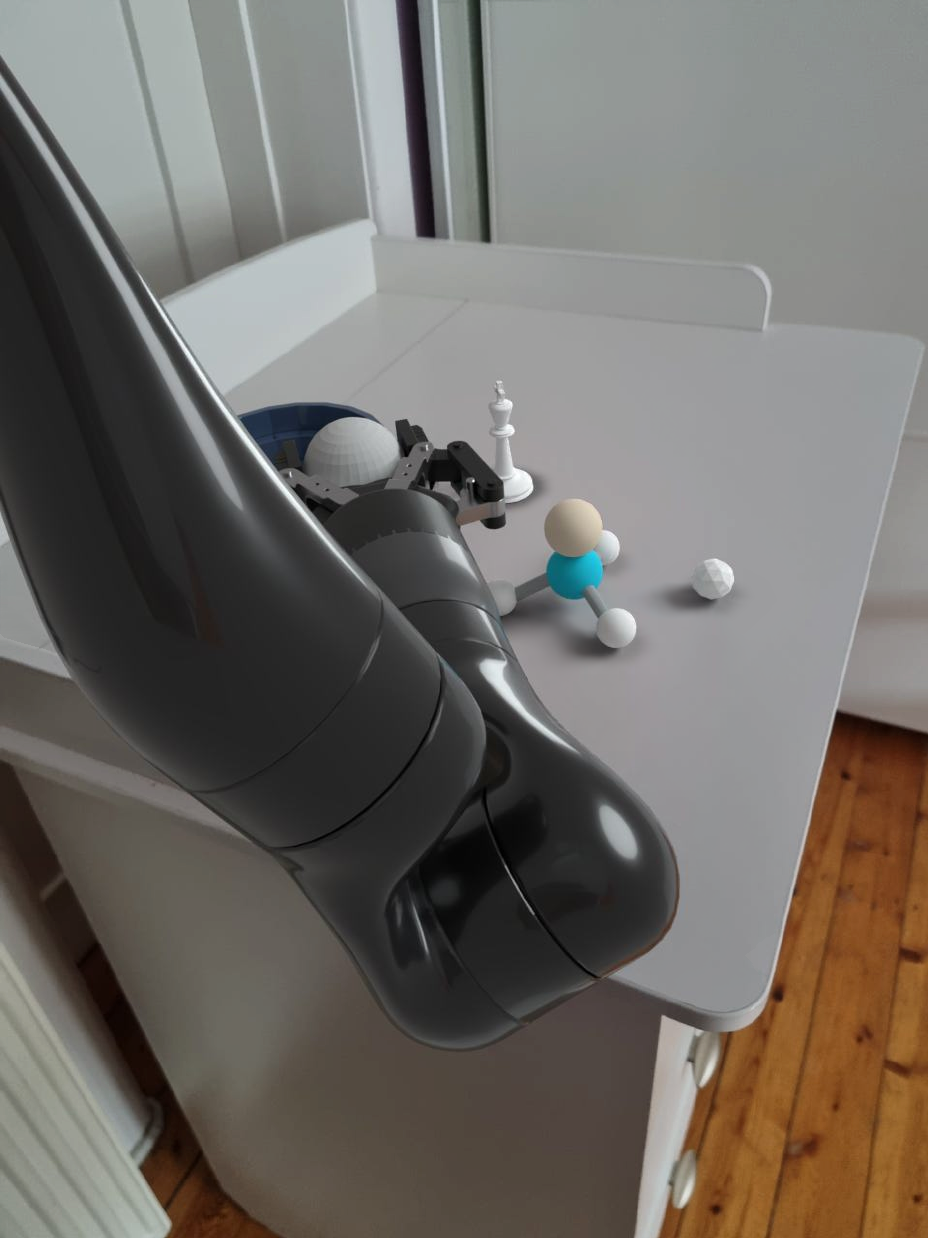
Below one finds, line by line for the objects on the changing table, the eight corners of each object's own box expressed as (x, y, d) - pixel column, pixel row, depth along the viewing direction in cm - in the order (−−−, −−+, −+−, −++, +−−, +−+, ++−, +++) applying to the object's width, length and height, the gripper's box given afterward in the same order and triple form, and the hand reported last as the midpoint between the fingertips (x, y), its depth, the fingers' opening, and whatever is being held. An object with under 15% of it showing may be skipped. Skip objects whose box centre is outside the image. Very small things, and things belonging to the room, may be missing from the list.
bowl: (277, 588, 73) (262, 529, 70) (158, 514, 83) (140, 459, 80) (435, 493, 83) (429, 437, 79) (311, 437, 93) (301, 385, 89)
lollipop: (373, 594, 65) (338, 391, 56) (445, 617, 63) (421, 408, 53) (318, 646, 61) (271, 437, 52) (392, 672, 59) (356, 457, 49)
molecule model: (677, 643, 65) (686, 537, 59) (512, 682, 63) (506, 577, 58) (611, 550, 74) (613, 450, 69) (466, 582, 72) (457, 482, 67)
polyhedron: (696, 610, 68) (700, 576, 66) (686, 585, 70) (689, 551, 68) (736, 606, 68) (740, 572, 66) (724, 581, 70) (728, 548, 68)
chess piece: (486, 508, 80) (479, 400, 74) (470, 481, 84) (461, 375, 78) (541, 496, 81) (538, 388, 75) (522, 469, 85) (518, 364, 78)
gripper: (553, 503, 42) (458, 362, 55) (229, 572, 40) (209, 408, 53) (556, 634, 47) (468, 475, 59) (266, 702, 44) (239, 522, 57)
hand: (347, 444), depth 56 cm, fingers closed on lollipop, 6 cm apart
